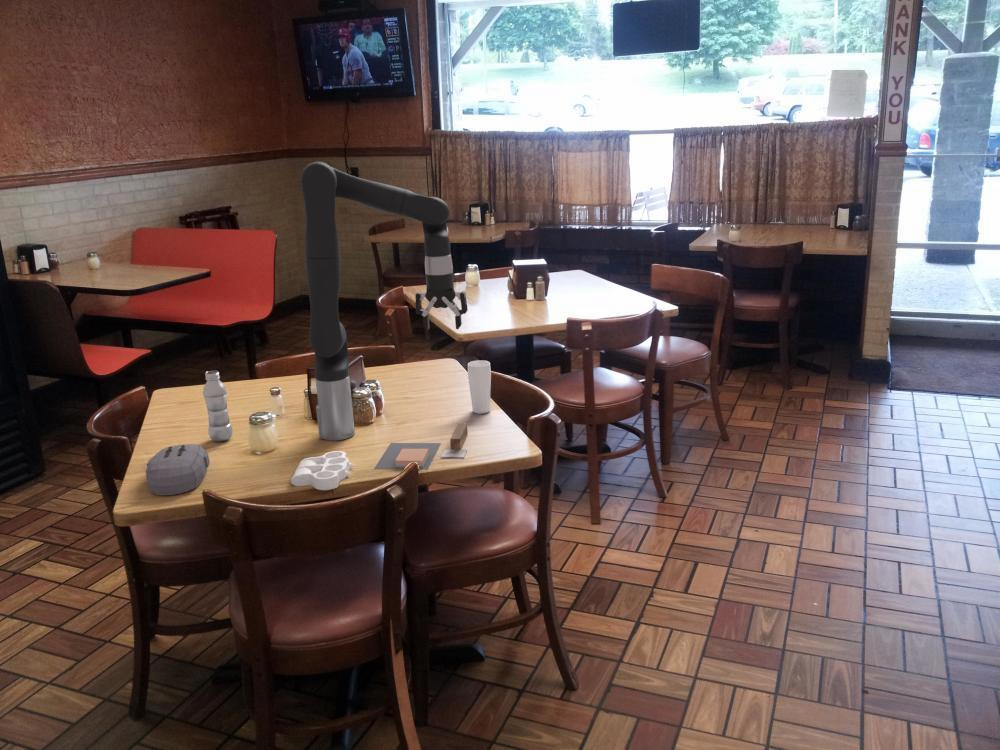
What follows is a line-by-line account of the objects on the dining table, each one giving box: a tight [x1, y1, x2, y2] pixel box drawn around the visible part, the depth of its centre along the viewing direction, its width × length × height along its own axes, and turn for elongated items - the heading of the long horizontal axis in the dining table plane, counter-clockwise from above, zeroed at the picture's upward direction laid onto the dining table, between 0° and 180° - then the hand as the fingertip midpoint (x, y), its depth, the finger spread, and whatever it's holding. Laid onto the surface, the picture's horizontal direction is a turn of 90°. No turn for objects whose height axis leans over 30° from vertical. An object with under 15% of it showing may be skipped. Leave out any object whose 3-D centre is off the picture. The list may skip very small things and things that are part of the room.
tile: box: [395, 449, 429, 468], centre depth 227 cm, size 7×2×8 cm
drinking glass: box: [467, 359, 492, 415], centre depth 262 cm, size 7×7×15 cm
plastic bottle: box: [202, 370, 233, 442], centre depth 248 cm, size 6×7×20 cm
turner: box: [440, 422, 469, 459], centre depth 236 cm, size 6×17×4 cm, turn 173°
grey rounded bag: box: [145, 443, 210, 496], centre depth 223 cm, size 15×8×20 cm
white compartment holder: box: [290, 450, 356, 491], centre depth 223 cm, size 3×18×15 cm
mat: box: [373, 442, 442, 471], centre depth 232 cm, size 14×18×1 cm
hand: (442, 328), depth 248 cm, fingers open, 8 cm apart
